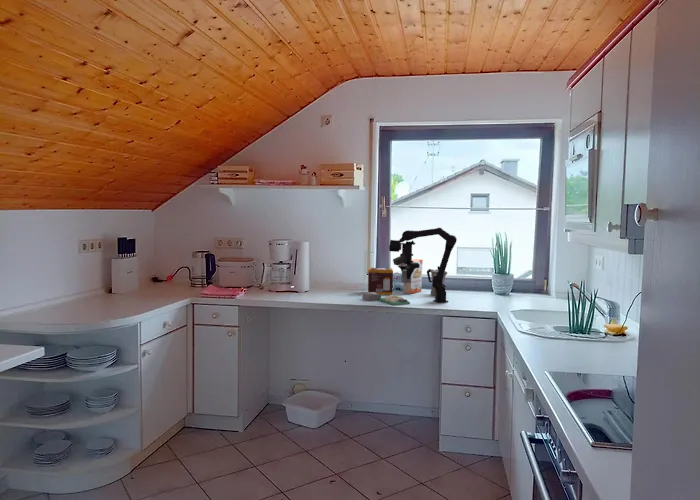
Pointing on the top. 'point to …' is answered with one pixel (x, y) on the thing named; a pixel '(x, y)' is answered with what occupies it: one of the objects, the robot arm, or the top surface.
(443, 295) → the robot arm
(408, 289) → the cracker box
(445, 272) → the coffeepot
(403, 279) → the plug
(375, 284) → the supplement box
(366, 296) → the speaker
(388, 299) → the board
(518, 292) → the top surface
